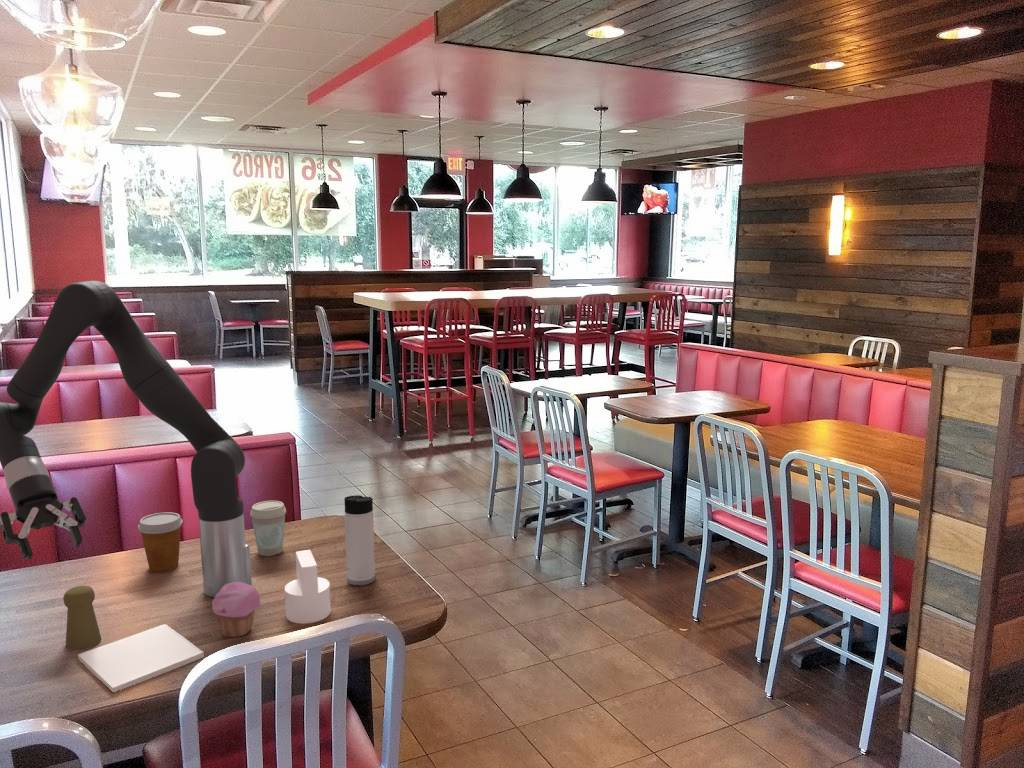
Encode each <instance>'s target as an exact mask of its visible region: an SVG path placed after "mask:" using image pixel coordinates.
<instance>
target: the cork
mask: <svg viewBox="0 0 1024 768" xmlns="http://www.w3.org/2000/svg"><path fill="white" fill-rule="evenodd" d="M95 595H96V593H95V590H94V589H93V587H91V586H89V585H78V586H74V587H71V588H68V589H67V590H66V591H65V593H64V595H63V599H62V600H63V603H64V606H65V607H66V608H67V614H66V615H67V616H66V632H65V634H66V635H65V648H66V649H67V650H68V651H75V650H77V651H84V650H87V649H86V648H88V649H90V647H91V648H93V647H95V646H97V645H99V643H101V641H102V636H101V633H100V629H99V628H100V627H99V625H98V620H97V617H96V613H95V609H94V605H93V602H94V601H95V597H96V596H95ZM96 644H97V645H96ZM92 646H93V647H92ZM83 649H84V650H83Z"/></svg>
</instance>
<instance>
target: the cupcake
mask: <svg viewBox="0 0 1024 768" xmlns="http://www.w3.org/2000/svg"><path fill="white" fill-rule="evenodd" d="M260 599H261V597H260V594H259V591H258V590H257V588H256V586H253V585H252V586H251V585H248V584H245V583H242V582H232V583H228V584H226V585H224V586H223V587H222V588H221V589H220V591H219V592H218V593H217V594H216V596H215V597H213V599H212V602H211V603H212V604H211V610H212V612H213V613H214V614H215V615H216V617H217V619H218V623H219V631H220V633H221V635H222V636H224V637H226V638H234V637H235V638H237V637H243V636H244V635H246V634H247V633H248V632H249V631H250V630H251V629H252V628H253V624H254V616H255V612H256V609H257V608H259V606H260V604H261V600H260Z"/></svg>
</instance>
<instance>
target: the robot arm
mask: <svg viewBox="0 0 1024 768" xmlns="http://www.w3.org/2000/svg"><path fill="white" fill-rule="evenodd" d="M89 327H94V328H95V329H96V330H97V331H98V332H99V334H101V336H102V337H103V338H104V340H106V341H107V342H108V344H109V345H110V346H111V347H110V348H112V350H113V351H114V354H115V356H116V358H117V362H118V365H119V368H120V370H121V374H122V376H123V378H124V381H125V383H126V386H128V388H129V389H130V391H131V392H132V393H133V395H135V397H136V398H137V399H138V400H139V402H140V403H141V404H142V405H143V406H144V408H146V409H147V410H148V411H149V412H150V413H151V414H152V415H154V416H155V417H156V418H158V419H159V420H161V421H163V422H164V423H165V424H167V425H169V426H171V427H173V429H175V430H177V431H178V432H179V433H180V434H181V435H182V436H183V437H185V438H186V440H187V441H188V442H189V444H191V446H192V447H193V448H194V450H195V451H196V453H195V454H194V456H193V457H192V460H191V463H190V480H191V481H190V482H191V489H192V497H193V504H194V507H195V508H196V510H197V517H198V528H199V541H200V543H199V544H200V555H201V556H200V557H201V569H202V586H203V594H204V595H205V596H208V597H210V598H215V596H216V594H217V593H218V592H219V591H220V589H221V588H222V587H223V586H224V585H226V584H228V583H232V582H242V583H245V584H248V585H251V586H253V583H252V582H253V580H252V566H251V565H252V564H251V563H252V561H251V549H250V545H249V544H247V543H246V530H245V515H244V513H245V512H244V511H245V510H244V502H243V500H242V499H241V498H240V497H238V490H237V489H238V488H237V479H236V478H237V476H239V475H240V474H241V472H242V471H243V470H244V467H245V464H246V458H245V457H246V456H245V453H244V450H243V449H242V447H241V446H240V445H239V444H238V442H237V441H236V440H235V439H234V438H233V437H232V436H231V435H230V434H229V433H228V432H226V430H225V429H224V428H223V427H222V426H221V425H220V424H219V423H218V422H217V421H216V420H215V419H214V418H213V417H212V416H211V415H210V413H208V411H207V410H206V409H205V407H204V406H203V404H201V402H200V401H199V399H198V398H197V397H196V396H195V395H194V394H193V392H192V391H191V390H190V388H189V387H188V386H187V384H186V383H185V382H184V380H183V379H182V378H181V377H180V375H179V374H178V373H177V372H176V371H175V369H174V368H173V366H171V364H170V363H169V362H168V360H166V359H165V358H164V356H163V355H162V354H161V353H160V352H159V350H158V349H157V347H156V346H155V345H154V344H153V343H152V341H151V340H150V339H149V338H148V337H147V335H145V333H144V332H143V331H142V329H141V328H140V326H139V325H138V324H137V323H136V321H135V319H134V318H133V316H132V315H131V313H130V311H129V310H128V308H127V307H126V306H125V304H124V302H123V300H121V298H120V297H119V294H117V292H116V291H115V289H113V287H111V286H110V285H108V284H106V283H105V282H102V281H99V280H87V281H86V280H85V281H79V282H78V281H77V282H72V283H70V284H67V285H66V286H64V287H63V288H62V289H61V290H60V291H59V293H58V295H57V297H56V299H55V301H54V303H53V305H52V308H51V310H50V312H49V315H48V317H47V319H46V321H45V324H44V326H43V327H42V330H41V332H40V334H39V336H38V337H37V340H36V341H35V343H34V345H33V346H32V348H31V350H30V351H29V353H28V355H27V356H26V357H25V359H24V361H23V362H22V363H21V365H20V366H19V368H18V369H17V370H16V372H15V373H14V374H13V376H12V377H11V379H10V380H9V381H8V384H7V386H6V392H7V395H8V397H10V398H11V399H12V400H14V401H15V402H16V403H12V402H11V403H9V402H4V401H0V465H1V468H2V471H3V474H4V475H3V476H4V480H5V484H6V489H7V490H8V492H9V494H10V498H11V500H12V504H13V506H14V510H15V511H14V512H10V513H8V512H7V511H3V512H1V513H0V529H1V532H2V537H3V540H4V543H5V544H6V545H11V544H15V545H16V544H17V547H18V549H19V552H20V554H21V557H22V558H23V559H26V560H27V561H28V560H32V559H33V556H34V553H33V551H32V550H33V549H32V547H31V545H30V542H29V539H28V537H27V536H28V535H29V533H30V531H31V530H32V529H34V530H35V531H37V530H40V529H42V528H49V527H53V526H54V525H55V526H57V527H59V528H63V529H65V530H67V531H69V532H68V533H69V534H68V535H69V536H70V540H71V542H72V545H73V547H74V549H76V548H79V547H80V545H81V544H82V541H83V536H82V534H81V531H80V528H81V527H82V528H83V527H84V526H85V523H86V521H87V517H86V514H85V513H84V510H83V509H82V506H81V505H80V502H79V500H78V498H77V497H75V496H72V497H71V498H70V499H69V500H66V501H61V500H60V499H59V497H58V495H57V492H56V490H55V486H54V484H53V481H52V479H51V476H50V474H49V472H48V468H47V467H46V465H45V463H44V461H43V460H42V457H41V454H40V452H39V449H38V446H37V443H36V442H35V441H34V440H33V438H31V437H29V436H26V435H27V434H29V433H30V432H31V431H32V430H33V429H34V427H35V425H36V423H37V419H38V416H39V412H40V409H41V406H42V403H43V400H44V398H45V397H46V395H47V394H48V393H49V391H50V389H52V387H53V385H54V384H55V383H56V381H57V380H58V379H59V377H60V375H61V372H62V371H63V370H62V369H63V367H64V363H65V359H66V356H67V353H68V352H69V349H70V347H71V346H72V344H73V343H74V342H75V341H76V340H77V338H78V337H79V336H80V335H81V334H82V333H84V331H86V330H87V329H88V328H89ZM63 509H65V510H66V511H68V512H70V513H71V515H72V517H73V518H72V517H70V516H69V515H68V514H67V513H65V512H63ZM14 520H16V521H18V522H20V523H22V524H23V525H22V527H21V529H20V532H19V533H14V531H13V527H12V525H13V523H14Z"/></svg>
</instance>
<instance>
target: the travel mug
mask: <svg viewBox="0 0 1024 768" xmlns="http://www.w3.org/2000/svg"><path fill="white" fill-rule="evenodd" d="M343 500H344V531H345V533H344V535H345V536H344V537H345V558H346V559H345V560H346V581H347V583H348V584H349V585H353V586H357V585H358V586H367V585H369V583H370V584H371V583H373V582H374V581H375V580H376V569H375V568H376V565H375V530H374V524H375V523H374V507H373V504H374V503H373V497H372V496H363V495H348V496H346V497H344V499H343ZM366 584H367V585H366Z"/></svg>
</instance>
